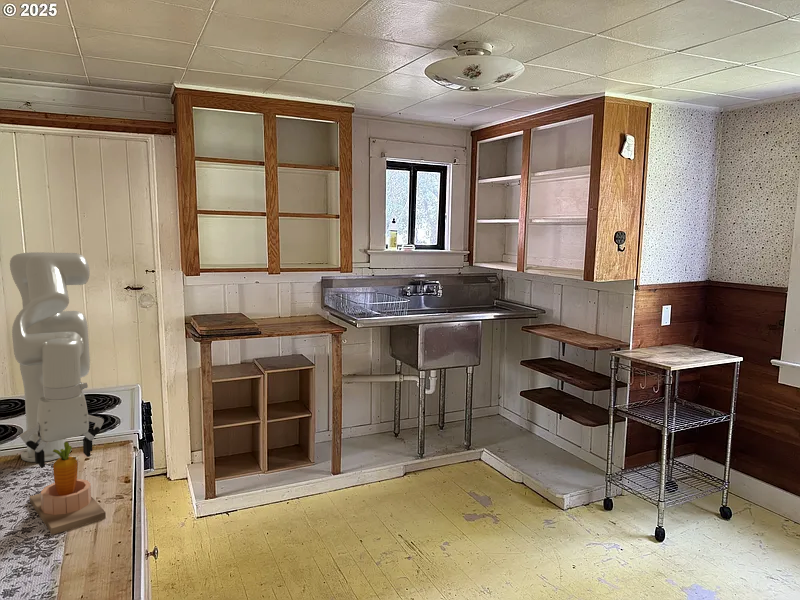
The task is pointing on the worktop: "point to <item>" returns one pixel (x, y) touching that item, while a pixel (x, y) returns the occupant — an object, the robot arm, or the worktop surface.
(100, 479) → the worktop surface
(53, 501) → the terracotta cup
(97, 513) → the walnut board
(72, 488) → the carrot
